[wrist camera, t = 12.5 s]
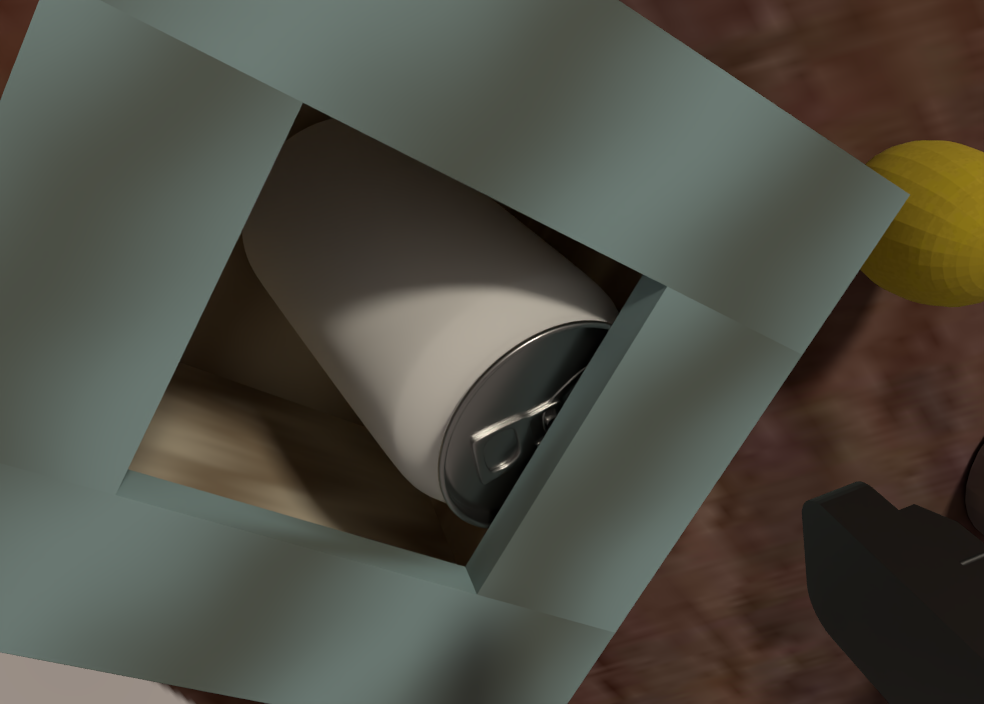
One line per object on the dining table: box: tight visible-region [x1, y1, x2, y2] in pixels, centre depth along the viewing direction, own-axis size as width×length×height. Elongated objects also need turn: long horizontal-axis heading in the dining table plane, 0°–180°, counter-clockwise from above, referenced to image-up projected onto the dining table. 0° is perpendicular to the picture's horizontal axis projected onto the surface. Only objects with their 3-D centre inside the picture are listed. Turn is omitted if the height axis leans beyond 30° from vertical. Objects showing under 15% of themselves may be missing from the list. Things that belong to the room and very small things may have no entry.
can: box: [242, 118, 619, 529], centre depth 25 cm, size 6×6×12 cm
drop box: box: [0, 0, 910, 704], centre depth 24 cm, size 16×16×14 cm
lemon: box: [860, 140, 984, 307], centre depth 33 cm, size 6×6×8 cm
